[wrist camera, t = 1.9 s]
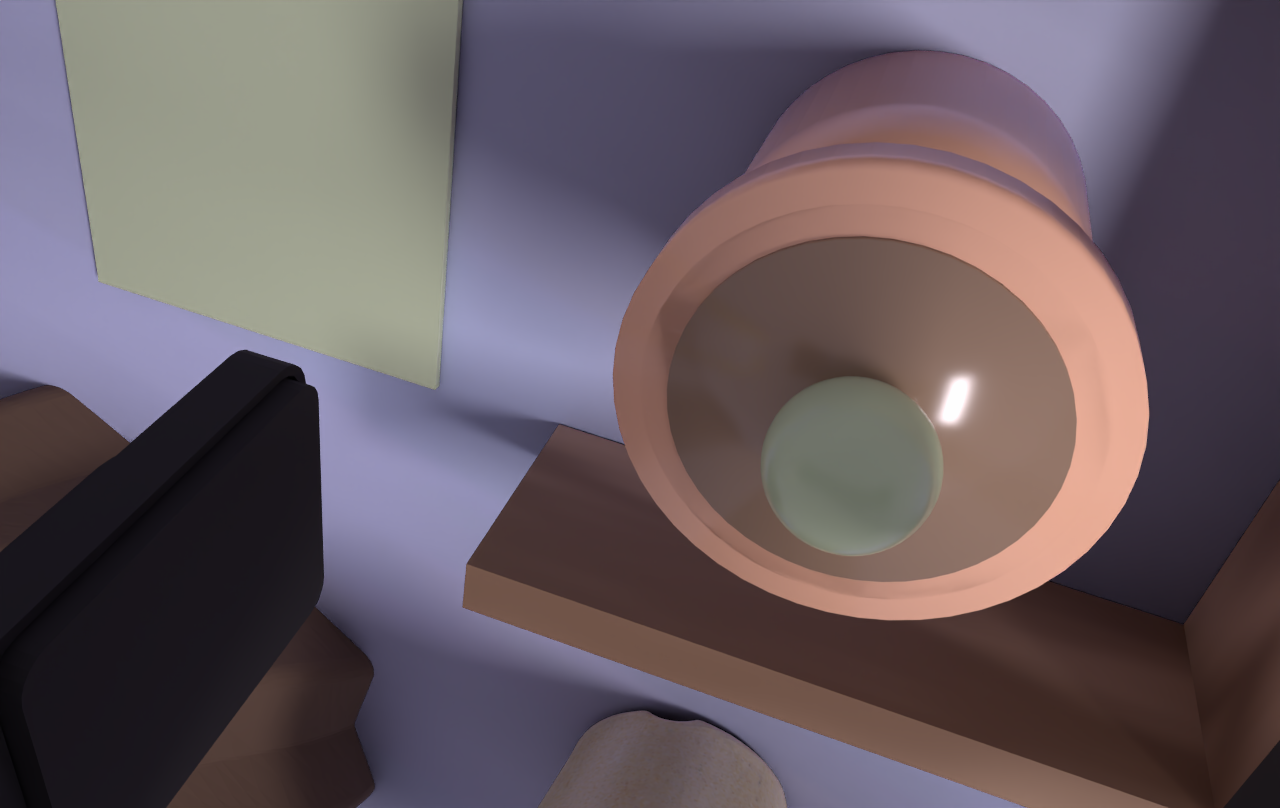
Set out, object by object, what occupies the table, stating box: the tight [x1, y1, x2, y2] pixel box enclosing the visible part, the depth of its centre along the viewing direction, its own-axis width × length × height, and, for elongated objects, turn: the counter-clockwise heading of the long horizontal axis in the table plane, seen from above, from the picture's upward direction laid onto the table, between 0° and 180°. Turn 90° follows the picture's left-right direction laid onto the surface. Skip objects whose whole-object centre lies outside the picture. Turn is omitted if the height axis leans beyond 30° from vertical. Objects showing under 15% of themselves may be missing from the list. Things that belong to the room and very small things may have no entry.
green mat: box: [55, 0, 463, 390], centre depth 21 cm, size 14×9×1 cm, turn 170°
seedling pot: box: [613, 50, 1149, 620], centre depth 16 cm, size 7×7×9 cm
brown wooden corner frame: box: [463, 424, 1280, 808], centre depth 17 cm, size 18×15×5 cm
